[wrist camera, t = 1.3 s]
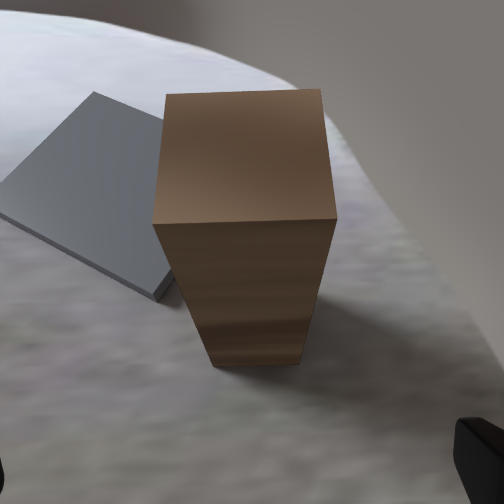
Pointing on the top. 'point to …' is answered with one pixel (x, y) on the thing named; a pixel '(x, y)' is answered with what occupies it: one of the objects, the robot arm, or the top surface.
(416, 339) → the top surface
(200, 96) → the walnut block
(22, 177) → the far plate
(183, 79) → the top surface
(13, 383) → the top surface
